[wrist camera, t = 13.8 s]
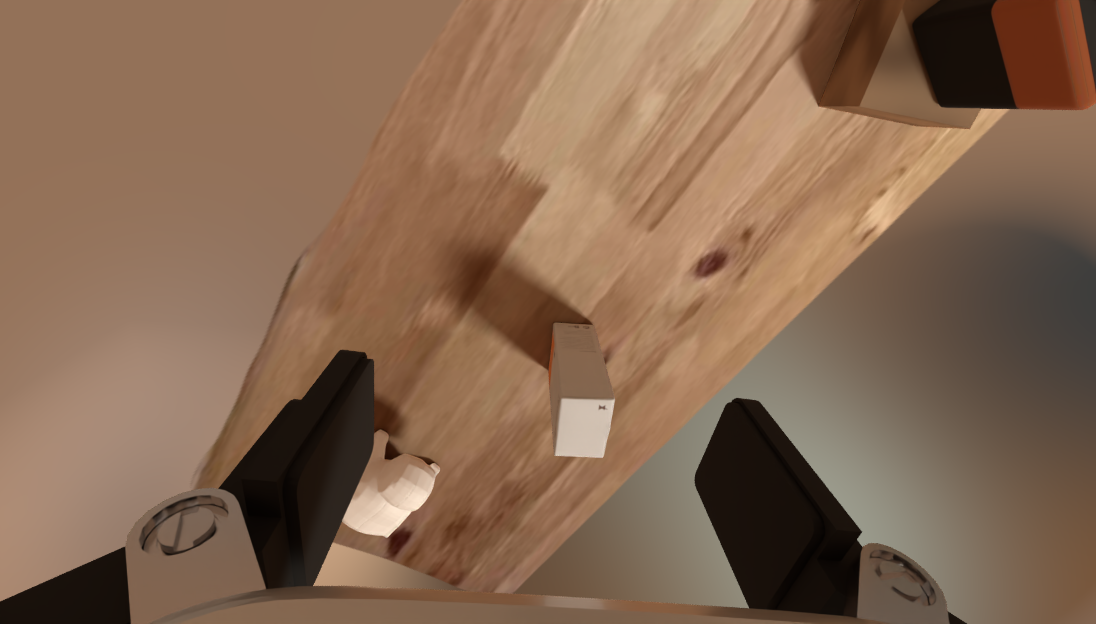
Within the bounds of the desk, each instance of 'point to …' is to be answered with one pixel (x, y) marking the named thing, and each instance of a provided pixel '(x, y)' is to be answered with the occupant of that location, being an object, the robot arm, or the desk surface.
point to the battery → (1010, 53)
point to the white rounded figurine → (389, 490)
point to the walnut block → (888, 69)
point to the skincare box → (579, 392)
